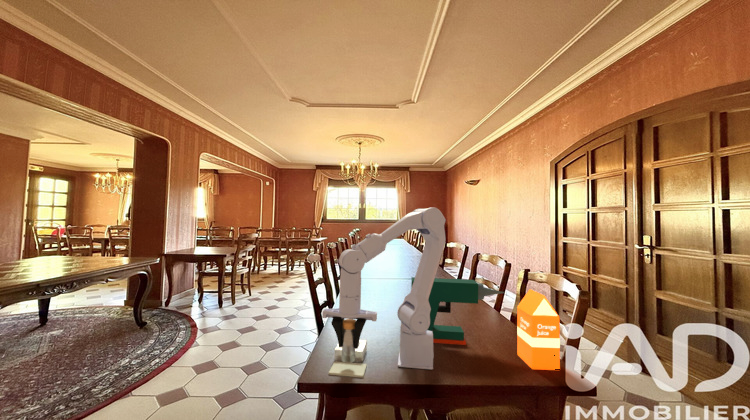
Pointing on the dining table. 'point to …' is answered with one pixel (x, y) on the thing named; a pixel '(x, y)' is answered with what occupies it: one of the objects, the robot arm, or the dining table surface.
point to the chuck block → (358, 352)
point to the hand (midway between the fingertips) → (348, 346)
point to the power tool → (450, 293)
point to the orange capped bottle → (348, 340)
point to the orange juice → (538, 332)
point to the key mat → (348, 369)
